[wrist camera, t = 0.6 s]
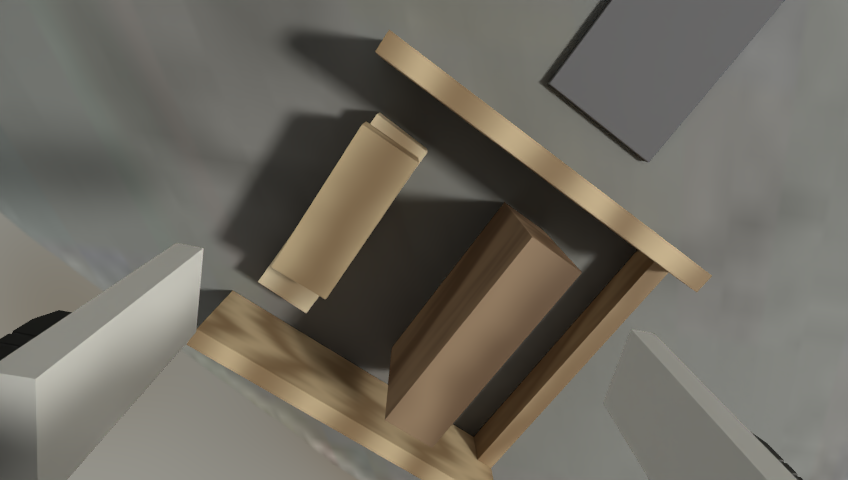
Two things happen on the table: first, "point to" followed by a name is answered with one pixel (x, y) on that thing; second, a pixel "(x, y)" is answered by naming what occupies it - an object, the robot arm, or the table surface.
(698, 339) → the table surface
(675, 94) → the mat
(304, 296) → the slab long
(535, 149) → the rack
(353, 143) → the slab short
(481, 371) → the brown wooden block
